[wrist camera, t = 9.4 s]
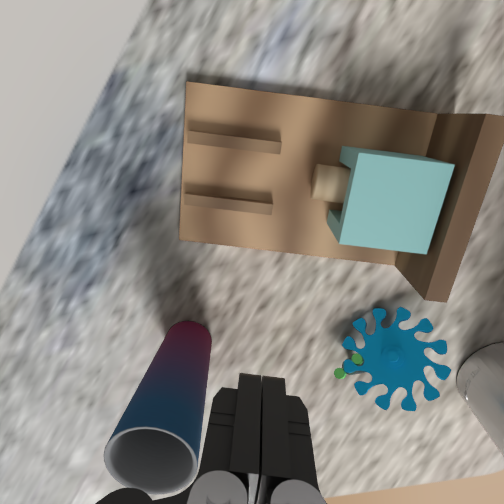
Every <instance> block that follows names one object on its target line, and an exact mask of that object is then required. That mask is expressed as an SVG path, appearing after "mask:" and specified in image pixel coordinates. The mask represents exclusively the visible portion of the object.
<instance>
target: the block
mask: <svg viewBox="0 0 504 504" xmlns="http://www.w3.org/2000/svg"><path fill="white" fill-rule="evenodd" d="M339 161H340V162H341V163H343V164H345V165H346V166H348V167H349V168H351V172H350V176H349V181H348V186H347V190H346V195H345V200H344V204H343V209H342V211H338V210H330V209H329V213H328V218H327V224H328V226H329V228H330V229H331V231H332V233H333V235H334V236H335V238H336V240H337V241H338V243H339V244H344V245H352V246H361V247H369V248H377V249H386V250H394V251H402V252H411V253H419V254H427V251H428V248H429V245H430V242H431V239H432V236H433V232H434V229H435V226H436V223H437V220H438V217H439V213H440V210H441V207H442V204H443V201H444V198H445V194H446V191H447V188H448V185H449V182H450V179H451V176H452V172H453V169H454V166H455V165H454V164H450V163H447V162H443V161H439V160H436V159H432V158H428V157H424V156H420V155H412V154H404V153H396V152H388V151H380V150H372V149H364V148H356V147H348V146H342V149H341V154H340V159H339Z"/></svg>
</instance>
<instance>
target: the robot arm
mask: <svg viewBox="0 0 504 504" xmlns="http://www.w3.org/2000/svg"><path fill="white" fill-rule="evenodd" d="M457 388H458V391H459V393H460V395H461V396H462V398H463V399H464V401H465V402H466V403H467V405H468V406H469V408H470V409H471V411H472V412H473V413H474V415H475V416H476V418H477V419H478V421H479V422H480V424H481V425H482V427H483V428H484V429H485V431H486V432H487V434H488V435H489V436H490V438H491V439H492V441H493V442H494V444H495V445H496V446H497V448H498V449H499V451H500V452H501V453H502V455H503V456H504V342H502V343H497V344H492V345H489V346H487V347H484V348H482V349H480V350H479V351H477V352H475V353H474V354H473V355H472V356H470V357H469V358H468V359H467V360H466V361H465V363H464V364H463V365H462V367H461V369H460V370H459V373H458V376H457ZM96 504H327V503H326V501H325V500H324V498H323V497H322V495H321V493H320V490H319V488H318V483H317V476H316V469H315V461H314V454H313V447H312V440H311V433H310V426H309V418H308V411H307V408H306V407H305V405H304V404H303V402H302V400H301V399H300V397H297V396H289V395H286V389H285V379H284V378H278V377H270V376H263V377H262V381H261V375H253V374H244V373H240V375H239V382H238V389H232V388H224V387H222V388H221V389H220V390H219V392H218V393H217V394H216V395H215V397H214V398H213V402H212V407H211V413H210V417H209V422H208V428H207V433H206V438H205V443H204V448H203V453H202V458H201V464H200V469H199V472H198V475H197V477H196V479H195V480H194V482H193V483H192V484H191V485H190V486H189V487H188V488H187V489H186V490H184V491H183V492H181V493H179V494H177V495H175V496H171V497H167V498H163V499H158V500H153V501H152V499H151V498H150V496H149V495H148V494H147V493H145V492H144V491H142V490H140V489H137V488H122V489H119V490H116V491H114V492H111V493H110V494H108V495H107V496H105V497H104V498H102V499H101V500H100V501H98V502H97V503H96Z"/></svg>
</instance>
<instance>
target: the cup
mask: <svg viewBox="0 0 504 504" xmlns="http://www.w3.org/2000/svg"><path fill="white" fill-rule="evenodd" d="M211 344H212V340H211V336H210V333H209V332H208V330H207V329H206V328H205V327H204V326H202V325H201V324H199V323H196V322H192V321H183V322H179V323H177V324H175V325H174V326H172V327H171V328H170V330H169V331H168V333H167V335H166V337H165V339H164V340H163V342H162V344H161V346H160V348H159V350H158V351H157V353H156V355H155V357H154V359H153V361H152V362H151V364H150V366H149V368H148V370H147V372H146V373H145V375H144V377H143V379H142V381H141V383H140V384H139V386H138V388H137V390H136V392H135V394H134V395H133V397H132V399H131V401H130V403H129V405H128V406H127V408H126V410H125V412H124V414H123V416H122V417H121V419H120V421H119V423H118V425H117V427H116V428H115V430H114V432H113V434H112V436H111V438H110V439H109V441H108V443H107V445H106V447H105V451H104V462H105V465H106V468H107V469H108V471H109V473H110V474H111V475H112V476H113V477H114V478H115V480H117V481H118V482H119V483H121V484H122V485H124V486H126V487H127V488H137V489H140V490H142V491H144V492H145V493H147V494H167V493H172V492H175V491H178V490H180V489H182V488H183V487H185V486H186V485H188V484H189V483H190V482H191V481H192V479H193V478H194V476H195V474H196V471H197V467H198V458H199V449H200V441H201V432H202V423H203V414H204V405H205V397H206V388H207V379H208V370H209V362H210V353H211Z"/></svg>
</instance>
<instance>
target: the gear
mask: <svg viewBox="0 0 504 504" xmlns="http://www.w3.org/2000/svg"><path fill="white" fill-rule="evenodd" d="M373 316H374V317H375V320H376V329H375V332H374V334H373V335H367V334H366V332H365V329H366V322H365V320H364V319H363V318H360V319H357V320H356V321H354V322H353V326H354V328H355V329H357V330H358V331H359V332H361V334H362V335H363V337H364V340H365V347H364V348H362V349H358V348H357V346H356V343H355V341H354V339H353V338H351V337H349V336H347V337H346V338H345V340H344V342H343V344H342V346H343V347H344V348H345V349H348V350H353V351H356V352H357V353H359V354H357V353H356V354H353V355H352V358H350V359H346V360H345V361H344V362H343V364H342V368H343V369H342V368H337V369H335V371H334V375H335V377H336V378H338V379H343V378H345V377H346V374H349V375H355V374H360V373H365V372H368V373H370V374H371V375H372V381H371V382H370V383H365V382H362V381H358V382H356V383H355V384H354V385H355V388H356V390H357V392H358V394H359V395H364V394H366V393H367V391H368V390H369V389H370V388H371V387H373V386H375V385H378V384H384V385H386V386H387V388H388V393H387V394H386V395H381V396H378V397H377V398H376V400H375V403H376V404H377V405H378V406H379V407H381V408H382V409H384V410H387V409H388V408H389V406H390V398H391V395H392V394H393V392H394V391H395V390H396V389H397V388H398V387H403V388H405V389H406V390H407V396H406V397H405V398H404V399H403V400H402V403H401V407H402V409H404V410H407V411H415V410H416V403H415V401H414V399H413V396H412V387H413V383H414V382H415V381H416V380H420V381H422V382H423V383H424V386H425V388H424V397H425V398H426V399H427V400H428V401H431V400H434V399H436V398H438V397H439V396H440V394H439V392H438V390H437V389H435V388H434V387H433V386H431V385H430V384H429V382H428V381H427V379H426V377H425V375H424V371H423V369H424V367H425V366H431V367H433V368H434V370H435V373H436V375H437V377H438V378H439V379H441V380H445V379H447V377H448V376H449V374H450V371H451V369H450V368H449V367H447V366H445V365H439V364H436V363H434V362H432V361H431V360H429V359H428V358H427V357H426V356H425V355H424V349H425V348H432V349H433V350H434V351H435V352H437V353H438V354H442V355H443V354H446V352H447V344H446V341H444V340H437V341H435V342H430V343H428V342H422V341H419V340H417V339H416V338H415V337H414V334H415V333H416V332H417V331H421V332H425V333H429V332H431V331H432V330H433V326H432V324H431V323H430V321H429V320H428V319H427V318H424V319H422V320H421V321H420V322H419V324H418V325H417V326H415V327H414V328H412V329H408V330H401V329H400V328H399V326H398V325H399V323H400V322H401V321H405V320H408V319H409V318H410V316H411V313H410V312H409V311H408V310H406V309H404V308H402V307H399V308H398V309H397V316H396V319H395V321H394V323H393V324H392V325H391V326H390V327H389V328H383V327H382V326H381V321H382V320H383V319H384V318H385V317H386V311H385V309H382V308H376V309H373Z"/></svg>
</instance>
